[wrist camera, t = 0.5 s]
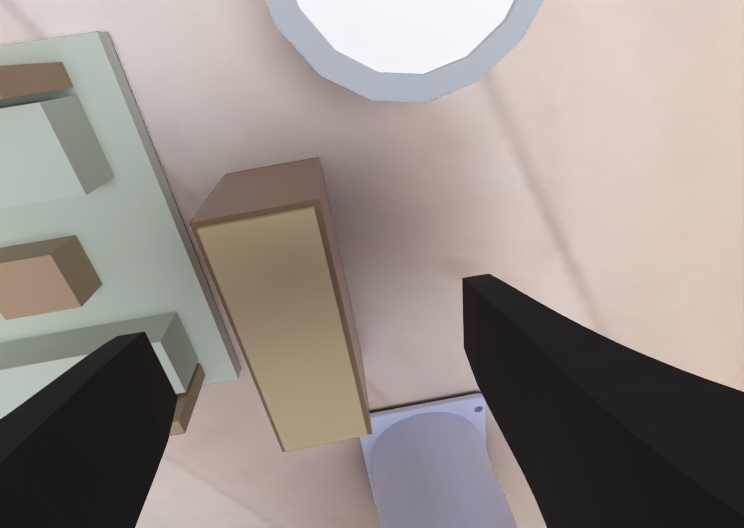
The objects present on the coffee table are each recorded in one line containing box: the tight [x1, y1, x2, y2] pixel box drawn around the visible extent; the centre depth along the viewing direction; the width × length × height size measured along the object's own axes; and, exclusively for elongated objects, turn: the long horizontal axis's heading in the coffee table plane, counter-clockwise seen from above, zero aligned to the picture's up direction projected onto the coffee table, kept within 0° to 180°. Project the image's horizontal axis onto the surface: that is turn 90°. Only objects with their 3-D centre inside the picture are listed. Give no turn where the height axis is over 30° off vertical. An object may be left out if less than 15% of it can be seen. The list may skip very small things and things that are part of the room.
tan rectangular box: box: [190, 157, 372, 452], centre depth 17 cm, size 11×4×6 cm, turn 9°
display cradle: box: [0, 32, 241, 436], centre depth 16 cm, size 16×11×4 cm
